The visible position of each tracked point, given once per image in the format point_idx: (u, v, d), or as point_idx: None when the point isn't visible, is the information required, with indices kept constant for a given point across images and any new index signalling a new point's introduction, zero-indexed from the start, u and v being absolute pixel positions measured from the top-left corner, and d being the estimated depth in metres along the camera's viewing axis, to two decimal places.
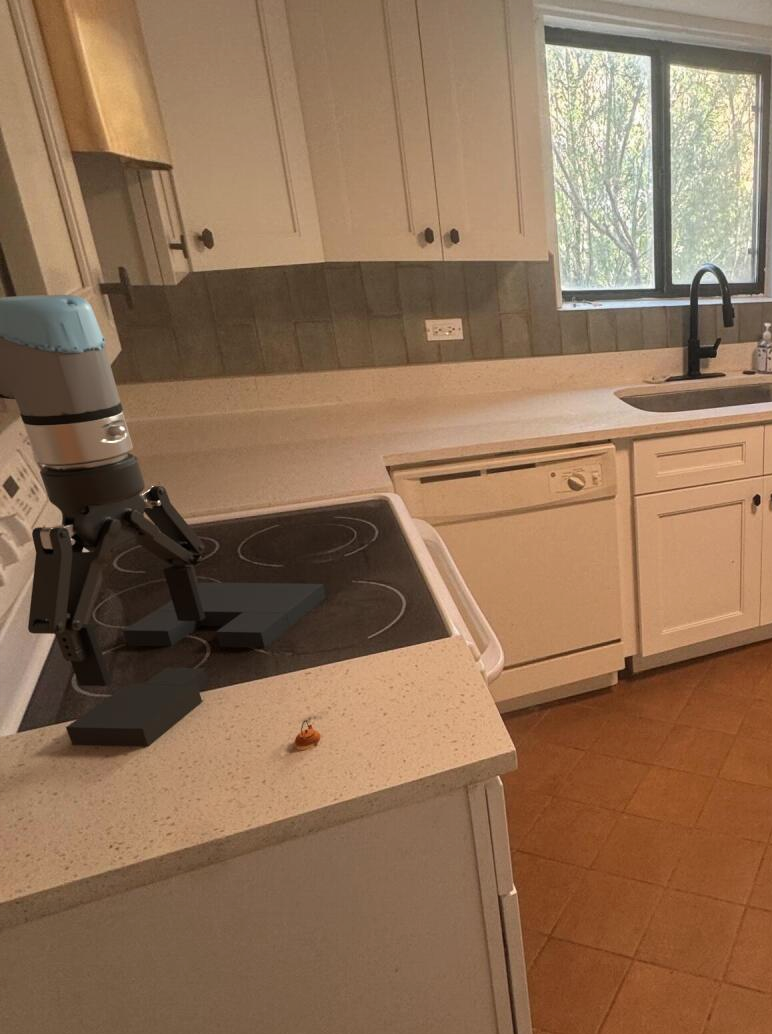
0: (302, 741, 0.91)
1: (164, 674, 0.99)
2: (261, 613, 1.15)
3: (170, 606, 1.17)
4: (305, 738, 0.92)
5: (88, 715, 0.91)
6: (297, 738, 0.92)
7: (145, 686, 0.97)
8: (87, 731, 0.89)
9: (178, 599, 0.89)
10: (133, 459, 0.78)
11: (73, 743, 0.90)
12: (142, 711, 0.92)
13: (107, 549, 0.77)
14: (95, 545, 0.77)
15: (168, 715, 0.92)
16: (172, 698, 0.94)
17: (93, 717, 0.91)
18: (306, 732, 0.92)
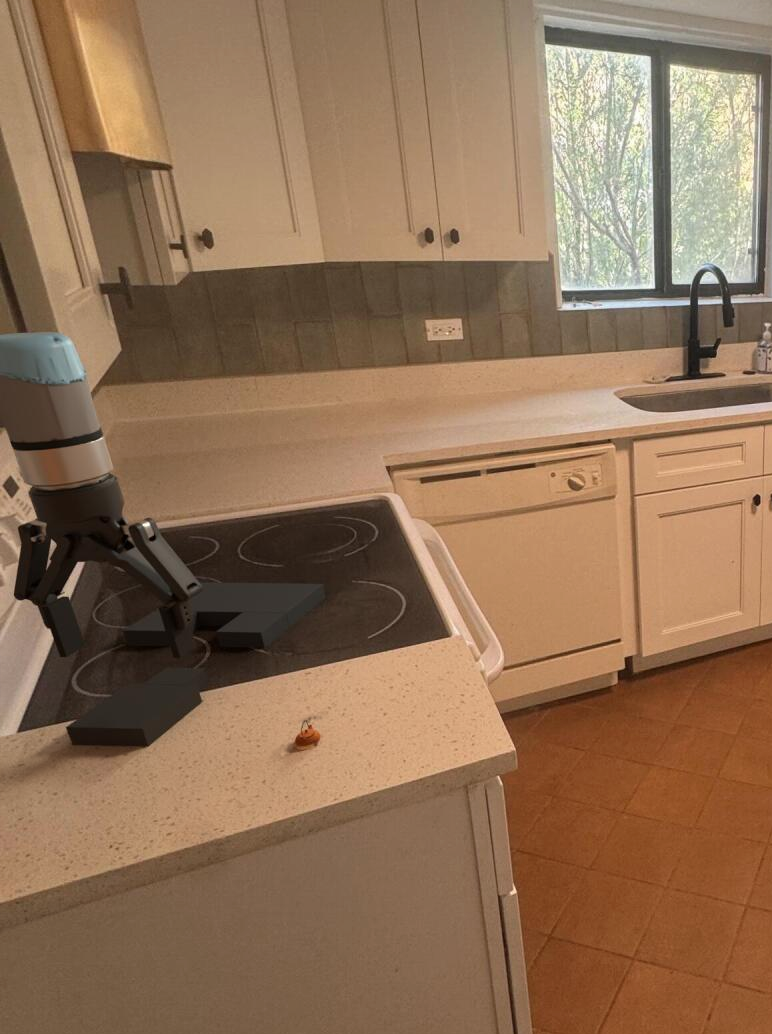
0: (302, 741, 0.91)
1: (164, 674, 0.99)
2: (261, 613, 1.15)
3: None
4: (305, 738, 0.92)
5: (88, 715, 0.91)
6: (297, 738, 0.92)
7: (145, 686, 0.97)
8: (87, 731, 0.89)
9: (64, 632, 0.91)
10: None
11: (73, 743, 0.90)
12: (142, 711, 0.92)
13: None
14: (124, 545, 0.88)
15: (168, 715, 0.92)
16: (172, 698, 0.94)
17: (93, 717, 0.91)
18: (306, 732, 0.92)
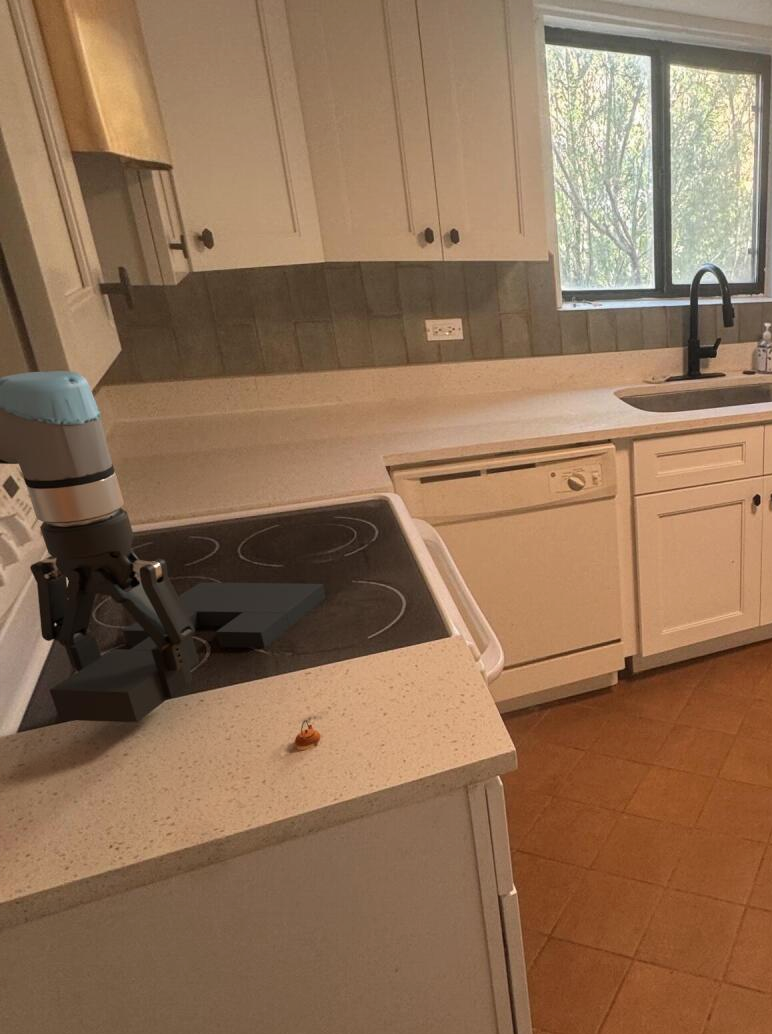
0: (302, 741, 0.91)
1: (151, 640, 0.98)
2: (261, 613, 1.15)
3: None
4: (305, 738, 0.92)
5: (73, 678, 0.89)
6: (297, 738, 0.92)
7: (132, 651, 0.95)
8: (71, 694, 0.87)
9: None
10: None
11: (57, 706, 0.88)
12: (128, 676, 0.90)
13: None
14: (133, 578, 0.89)
15: (154, 679, 0.91)
16: None
17: (77, 680, 0.89)
18: (306, 732, 0.92)
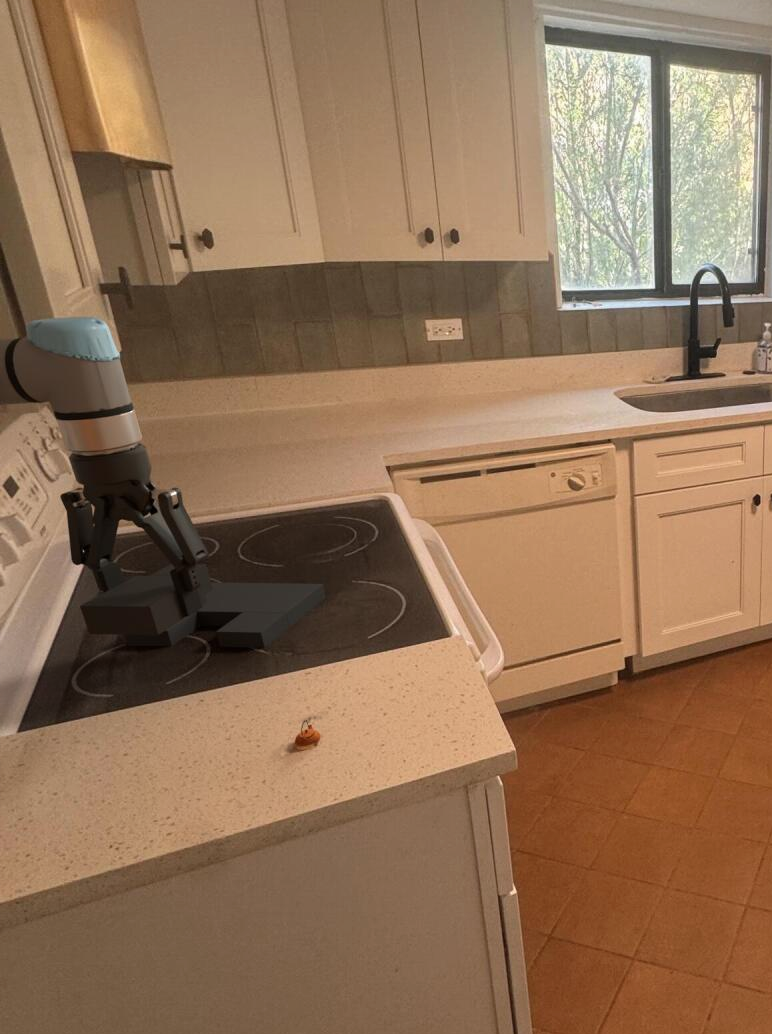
0: (302, 741, 0.91)
1: (169, 568, 1.07)
2: (261, 613, 1.15)
3: None
4: (305, 738, 0.92)
5: (100, 597, 0.99)
6: (297, 738, 0.92)
7: (152, 577, 1.05)
8: (99, 610, 0.97)
9: None
10: None
11: (86, 621, 0.98)
12: (149, 594, 1.00)
13: None
14: (151, 506, 0.99)
15: (173, 598, 1.01)
16: None
17: (104, 598, 0.99)
18: (306, 732, 0.92)
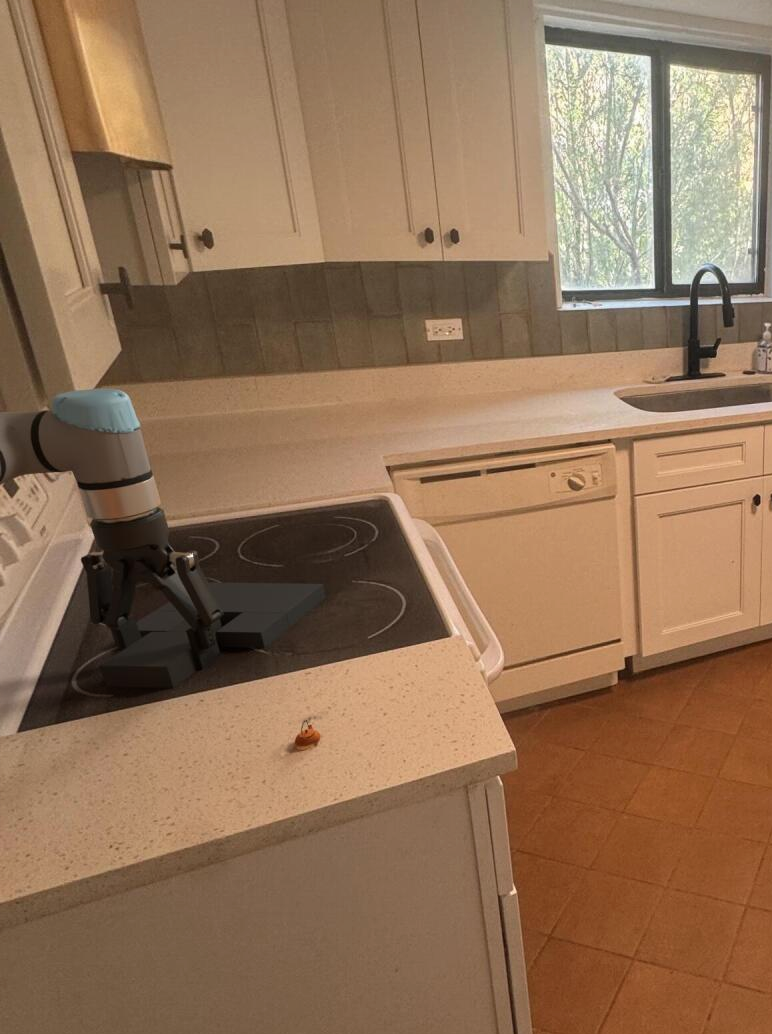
0: (302, 741, 0.91)
1: (184, 624, 1.11)
2: (261, 613, 1.15)
3: (170, 606, 1.17)
4: (305, 738, 0.92)
5: (118, 656, 1.02)
6: (297, 738, 0.92)
7: (168, 633, 1.08)
8: (118, 669, 1.00)
9: None
10: None
11: (105, 680, 1.01)
12: (166, 653, 1.03)
13: None
14: (169, 568, 1.02)
15: (189, 656, 1.04)
16: None
17: (122, 657, 1.02)
18: (306, 732, 0.92)
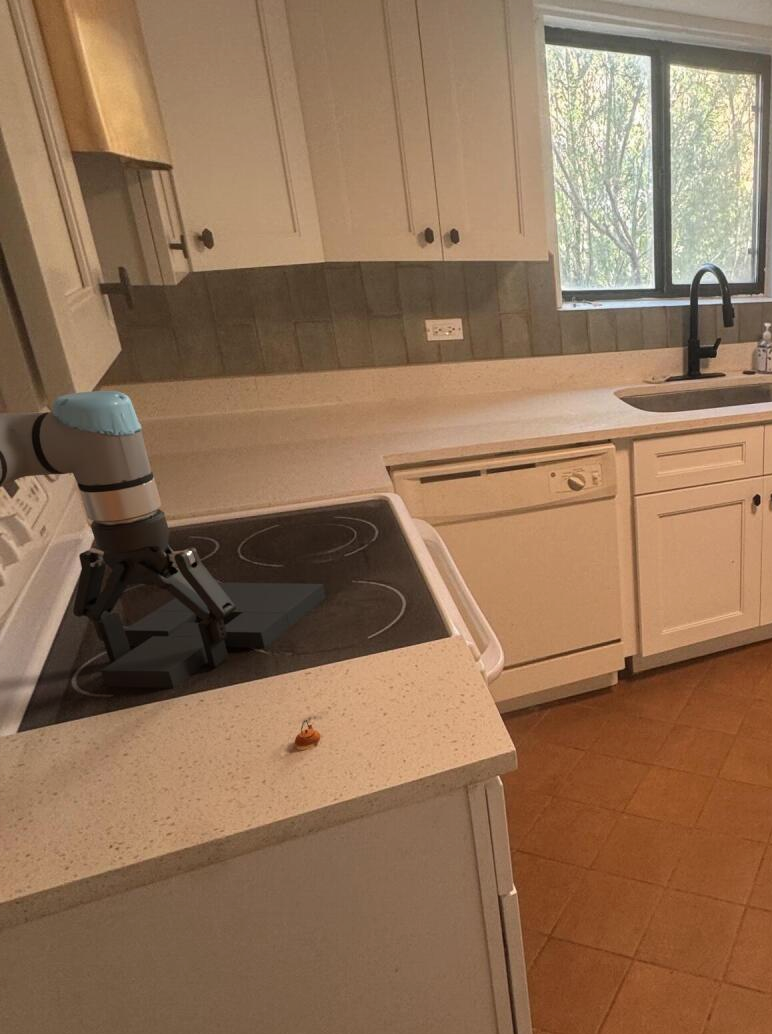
0: (302, 741, 0.91)
1: (186, 628, 1.11)
2: (261, 613, 1.15)
3: (170, 606, 1.17)
4: (305, 738, 0.92)
5: (120, 661, 1.02)
6: (297, 738, 0.92)
7: (169, 638, 1.08)
8: (119, 674, 1.00)
9: (115, 644, 1.05)
10: None
11: (107, 685, 1.01)
12: (168, 658, 1.03)
13: None
14: (169, 570, 1.02)
15: (190, 661, 1.04)
16: (193, 647, 1.06)
17: (124, 662, 1.02)
18: (306, 732, 0.92)
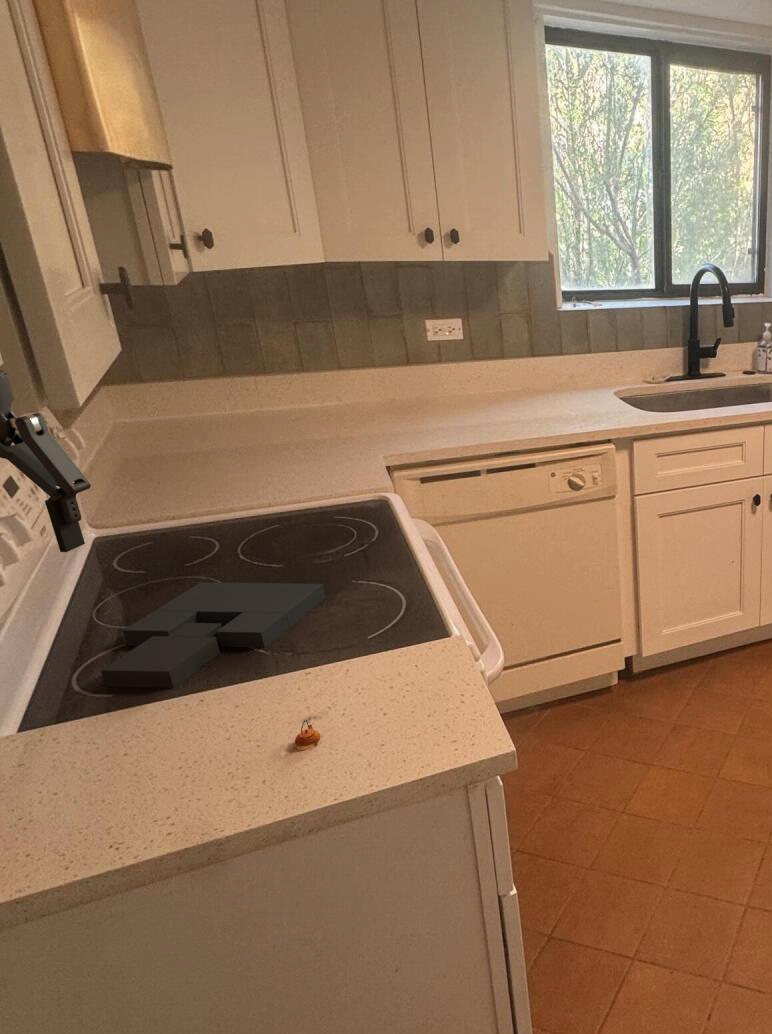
0: (302, 741, 0.91)
1: (186, 628, 1.11)
2: (261, 613, 1.15)
3: (170, 606, 1.17)
4: (305, 738, 0.92)
5: (120, 661, 1.02)
6: (297, 738, 0.92)
7: (169, 638, 1.08)
8: (119, 674, 1.00)
9: None
10: None
11: (107, 685, 1.01)
12: (168, 658, 1.03)
13: None
14: (13, 439, 0.91)
15: (190, 661, 1.04)
16: (193, 647, 1.06)
17: (124, 662, 1.02)
18: (306, 732, 0.92)
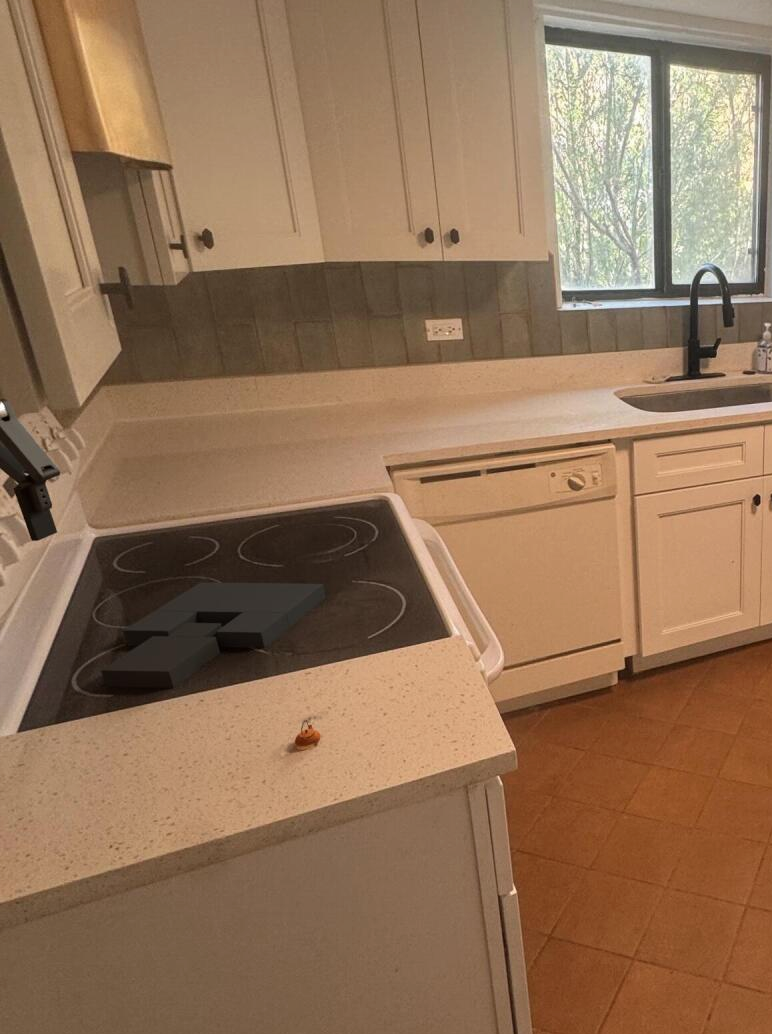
0: (302, 741, 0.91)
1: (186, 628, 1.11)
2: (261, 613, 1.15)
3: (170, 606, 1.17)
4: (305, 738, 0.92)
5: (120, 661, 1.02)
6: (297, 738, 0.92)
7: (169, 638, 1.08)
8: (119, 674, 1.00)
9: None
10: None
11: (107, 685, 1.01)
12: (168, 658, 1.03)
13: None
14: None
15: (190, 661, 1.04)
16: (193, 647, 1.06)
17: (124, 662, 1.02)
18: (306, 732, 0.92)
